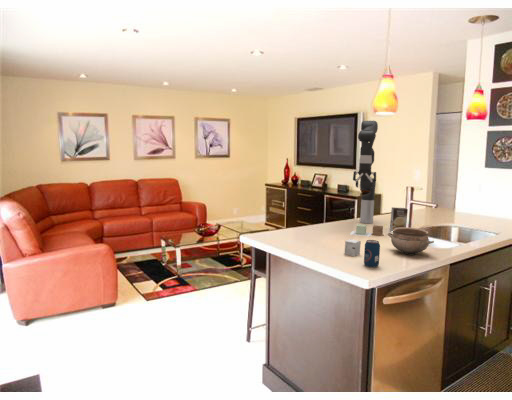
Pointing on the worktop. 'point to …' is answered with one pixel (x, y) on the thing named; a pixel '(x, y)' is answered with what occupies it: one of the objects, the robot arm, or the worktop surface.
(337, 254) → the worktop surface
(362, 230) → the sage cube
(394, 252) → the worktop surface
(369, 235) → the letter
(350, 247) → the skincare box
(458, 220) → the worktop surface
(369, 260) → the soda can
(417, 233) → the cooking pot
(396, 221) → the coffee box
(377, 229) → the walnut block
